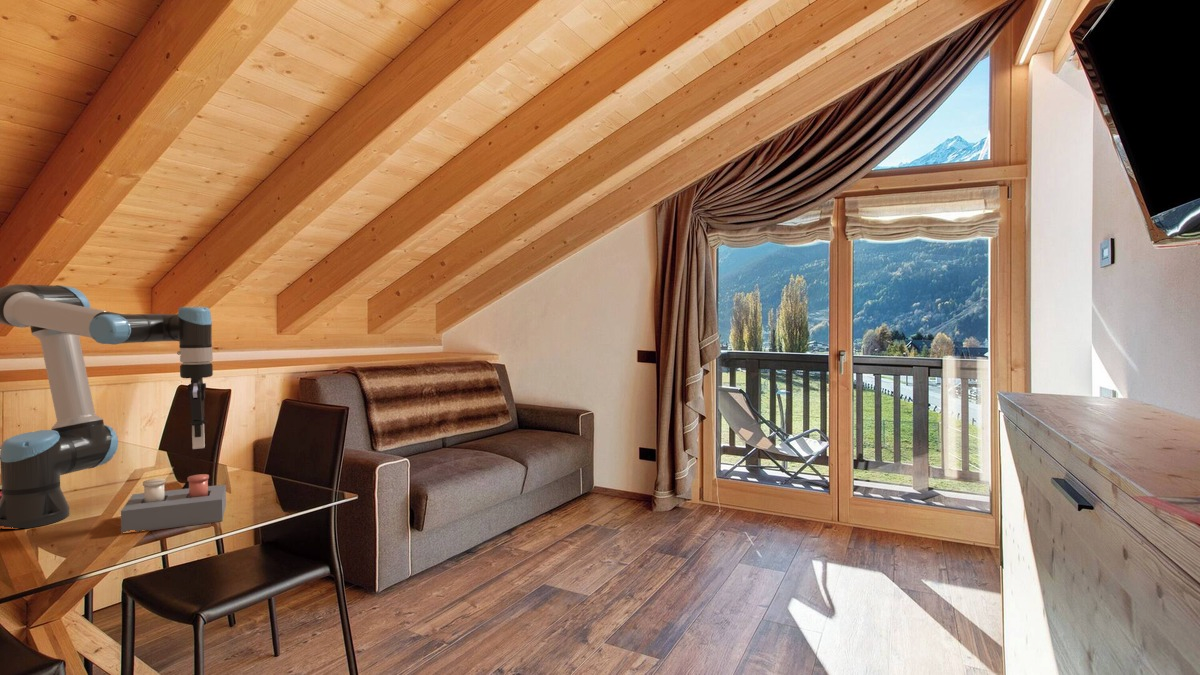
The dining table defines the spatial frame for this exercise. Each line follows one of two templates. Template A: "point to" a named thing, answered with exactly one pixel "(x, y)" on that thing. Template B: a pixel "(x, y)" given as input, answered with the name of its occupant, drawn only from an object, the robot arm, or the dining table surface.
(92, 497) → the dining table surface
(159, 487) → the ivory plunger
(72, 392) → the robot arm
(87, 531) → the dining table surface
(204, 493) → the red plunger
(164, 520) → the grey plunger base
